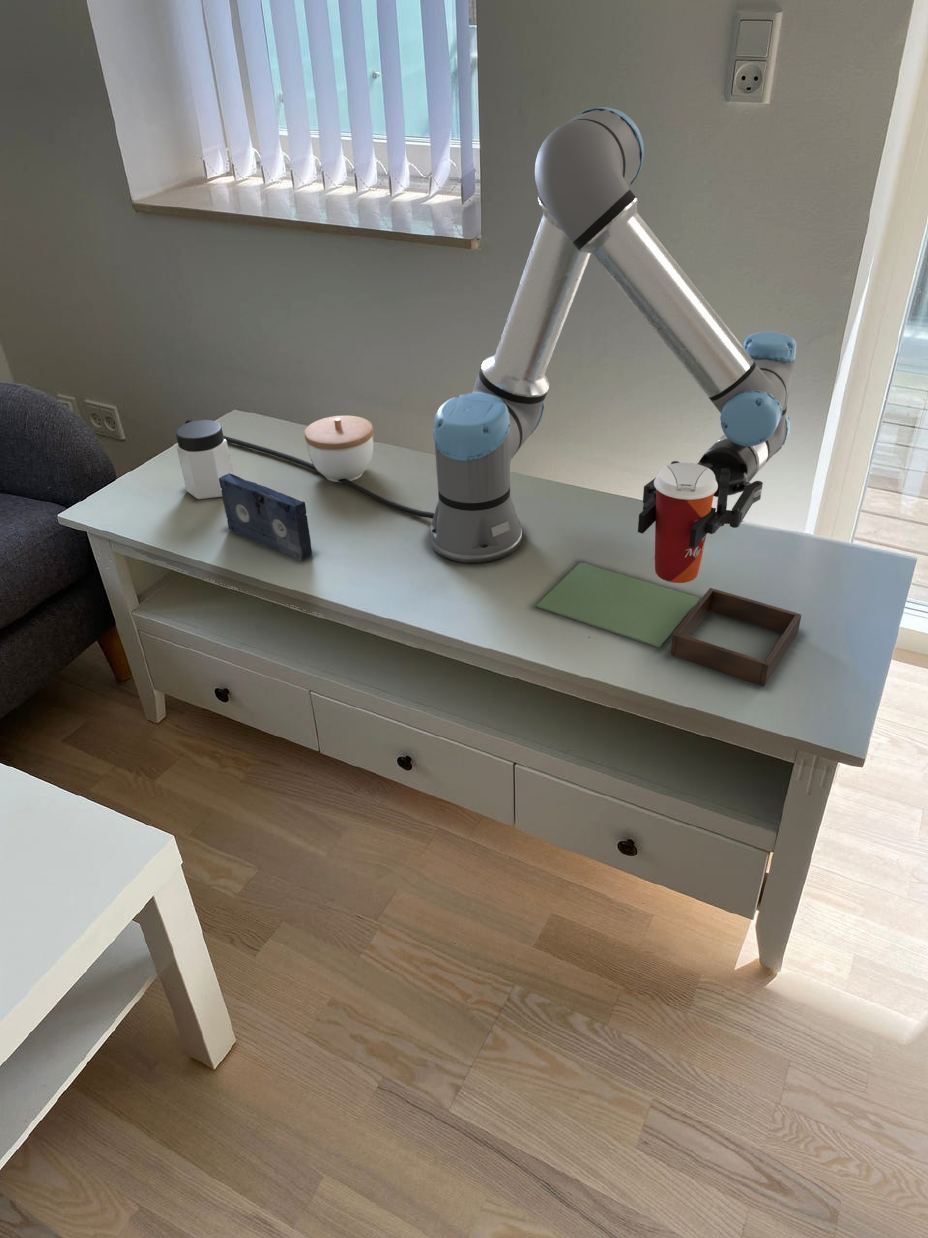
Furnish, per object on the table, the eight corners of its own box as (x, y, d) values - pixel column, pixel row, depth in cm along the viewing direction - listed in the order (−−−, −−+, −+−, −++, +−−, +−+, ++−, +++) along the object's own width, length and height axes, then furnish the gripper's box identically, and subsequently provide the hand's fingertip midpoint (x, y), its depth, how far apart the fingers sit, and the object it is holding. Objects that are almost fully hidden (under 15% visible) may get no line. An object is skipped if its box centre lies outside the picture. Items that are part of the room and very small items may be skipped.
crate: (669, 654, 135) (671, 634, 133) (707, 607, 144) (710, 587, 141) (764, 686, 128) (768, 665, 126) (797, 634, 137) (801, 614, 135)
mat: (535, 607, 145) (535, 605, 145) (580, 563, 155) (580, 562, 155) (659, 648, 136) (660, 646, 136) (699, 599, 145) (699, 597, 145)
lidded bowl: (318, 458, 190) (311, 405, 183) (382, 459, 188) (377, 405, 182) (303, 489, 180) (295, 433, 173) (370, 489, 178) (364, 433, 172)
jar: (236, 476, 185) (224, 417, 178) (234, 496, 178) (222, 435, 171) (188, 481, 184) (174, 422, 177) (185, 501, 177) (171, 440, 170)
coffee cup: (706, 590, 132) (719, 491, 123) (644, 585, 133) (653, 487, 124) (706, 557, 138) (719, 461, 130) (648, 553, 140) (656, 458, 131)
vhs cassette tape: (313, 554, 160) (305, 501, 155) (300, 562, 158) (291, 508, 153) (241, 522, 170) (231, 471, 164) (228, 529, 168) (217, 478, 163)
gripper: (794, 500, 140) (734, 575, 125) (668, 470, 149) (598, 536, 134) (802, 453, 136) (742, 524, 120) (672, 424, 145) (600, 487, 130)
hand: (666, 530), depth 127 cm, fingers closed on coffee cup, 6 cm apart
